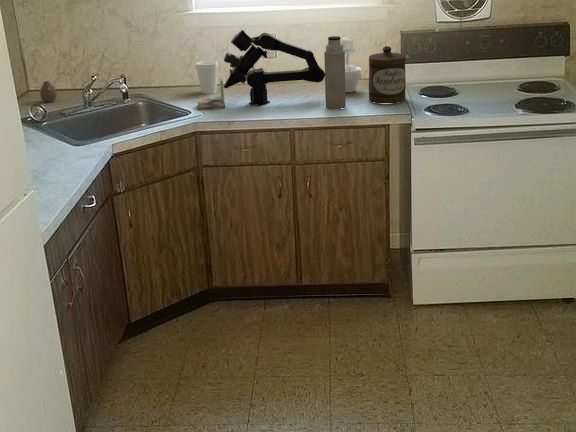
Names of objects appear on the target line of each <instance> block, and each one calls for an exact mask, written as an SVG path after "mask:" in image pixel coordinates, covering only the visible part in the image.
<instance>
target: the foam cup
mask: <svg viewBox="0 0 576 432" xmlns="http://www.w3.org/2000/svg"><path fill="white" fill-rule="evenodd" d="M218 64H219V63H218V61H216V60H202V61H197V62H196V63H195V69H196V72H197V76H198V82H199V86H200V90H201V93H202V94H207V95H208V94H209V95H210V94H214V93H216V92H217V83H218V82H217V80H218V67H219V65H218Z"/></svg>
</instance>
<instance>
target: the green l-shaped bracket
mask: <svg viewBox="0 0 576 432" xmlns="http://www.w3.org/2000/svg"><path fill="white" fill-rule="evenodd" d="M219 85H220V86H219V87H220V94H219V95H218V94H217V95H209V97H208V98H210V101H213V100H224V101H225V99H226V98H225V94H224V81H223V78H220V79H219Z"/></svg>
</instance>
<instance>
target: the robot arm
mask: <svg viewBox="0 0 576 432" xmlns="http://www.w3.org/2000/svg"><path fill="white" fill-rule="evenodd" d="M230 43H231V44H232V45H233V46H234V47H235V48H237V49H238V50H239V51H240V52H245V53H244V54H243V55H240V56H237V55H236V54H232V53H229V52H226V53H225V56H224V58H223V62H224V63H227V64H229V67H230V68H229V76H228V78H227V80H226V81H225V83H224V84H223V89H229V88H230V87H232V86H234V85H236V84H239V83H242V84H243V85H244V84H245V83H247V84H248V85H249V87H251V88H250V92H249V97H250V98H249V99H250V102H248V104H249V105H253V106H260V107H261V106H264V105H266V104H269V103H271V100H268V88H267V84H271V83H280V82H284V83H285V82H294V81H295V82H296V81H306V82H311V83H321V82H323V81H324V80H325V70H324V69H323V68H322V67H321V66H319V64H318V61H317V59H316V58H315V55H314V52H313V51H312V50H310V49H306V48H303V47H300V46H297V45H294V44H292V43H288V42H285V41H282V40H280V39H278V38H277V37H275V36H274V35H272V34H270V33H268V32H262V33H260V34H259V35H258V36H253V37H250V35H248V34H247V33H246V31H245V30H244V29H241V31H239V32H238V33H237V34H235V35H234V36H233V38H232V39H231V40H230ZM267 50H268V51H275V52H276V51H278V52H281V53H285V54H288V55H291V56H293V57H296V58H298V59H299V58H300V59H302V60H305V62H306V64H307V66H308V67H305V68H303V69H297V70H296V69H294V70H283V71H282V70H281V71H269V72H268V71H265V70H264V69H263V67H259V68H254V67H255V64H257V63H258V61H259V60H260V59H261V58H262V57H264V58H265V59H268V51H267ZM231 68H232V69H231Z"/></svg>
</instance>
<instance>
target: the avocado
mask: <svg viewBox="0 0 576 432" xmlns="http://www.w3.org/2000/svg"><path fill="white" fill-rule="evenodd" d="M57 94H58V93H57V90H56V88H55V87H54V85H53V84H51V82H50V81H49V80H47V81H43V83H42V85H41V87H40V89H39V95H40V99H41V100H42V101H43V102H44V103H45V104H46V103H48V104H49V103H54V102H55V101H56V100H57V97H58V96H57Z"/></svg>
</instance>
